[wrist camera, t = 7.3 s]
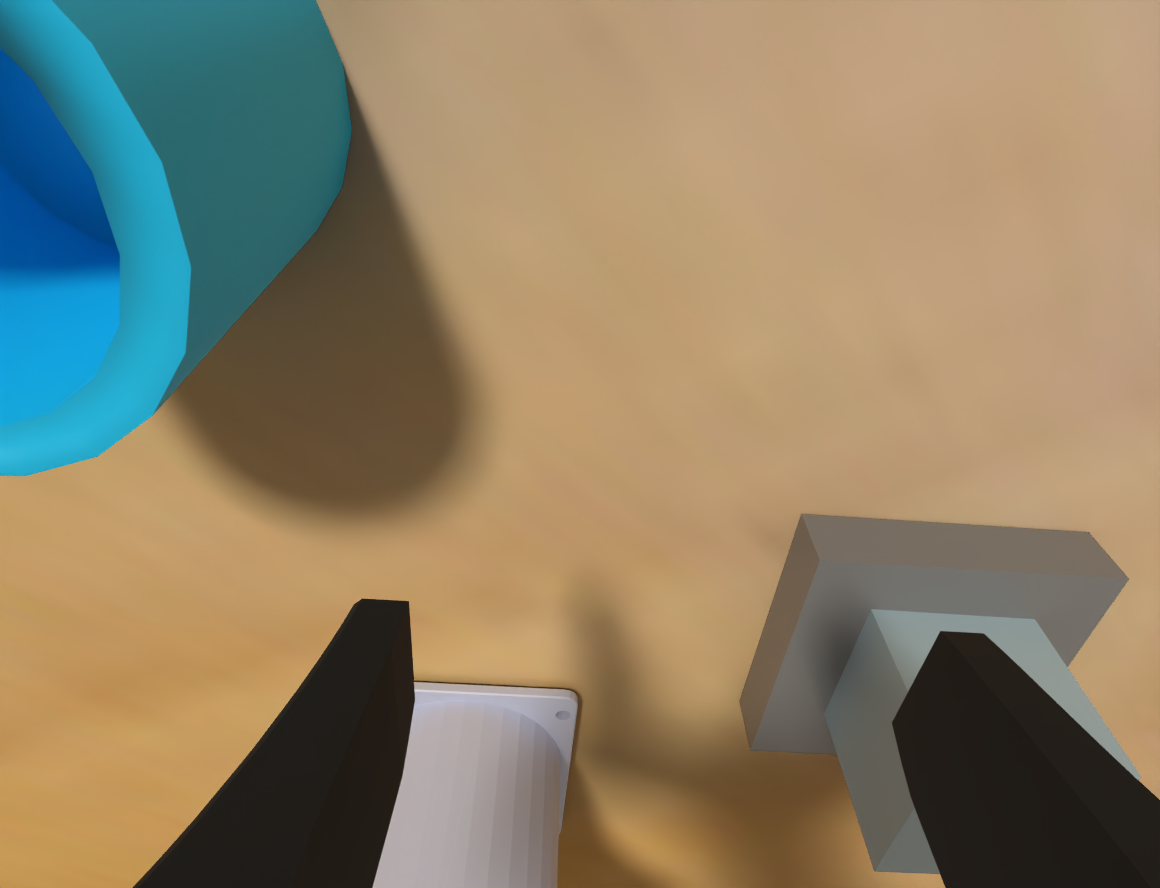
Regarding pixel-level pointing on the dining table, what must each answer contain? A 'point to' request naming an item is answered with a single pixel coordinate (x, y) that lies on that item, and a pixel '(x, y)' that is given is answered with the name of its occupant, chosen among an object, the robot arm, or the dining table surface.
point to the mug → (148, 198)
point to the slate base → (907, 604)
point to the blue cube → (877, 693)
